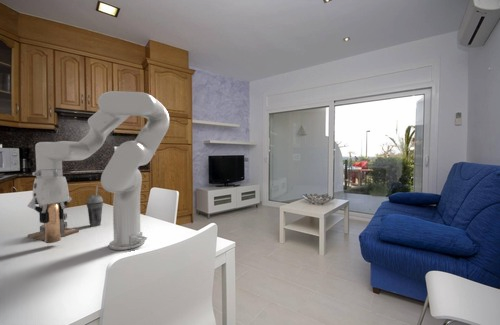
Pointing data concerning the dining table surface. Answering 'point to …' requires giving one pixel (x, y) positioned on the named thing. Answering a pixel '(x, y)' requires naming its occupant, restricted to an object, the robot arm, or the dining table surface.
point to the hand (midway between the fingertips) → (52, 220)
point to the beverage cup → (95, 209)
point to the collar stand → (63, 230)
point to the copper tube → (52, 224)
